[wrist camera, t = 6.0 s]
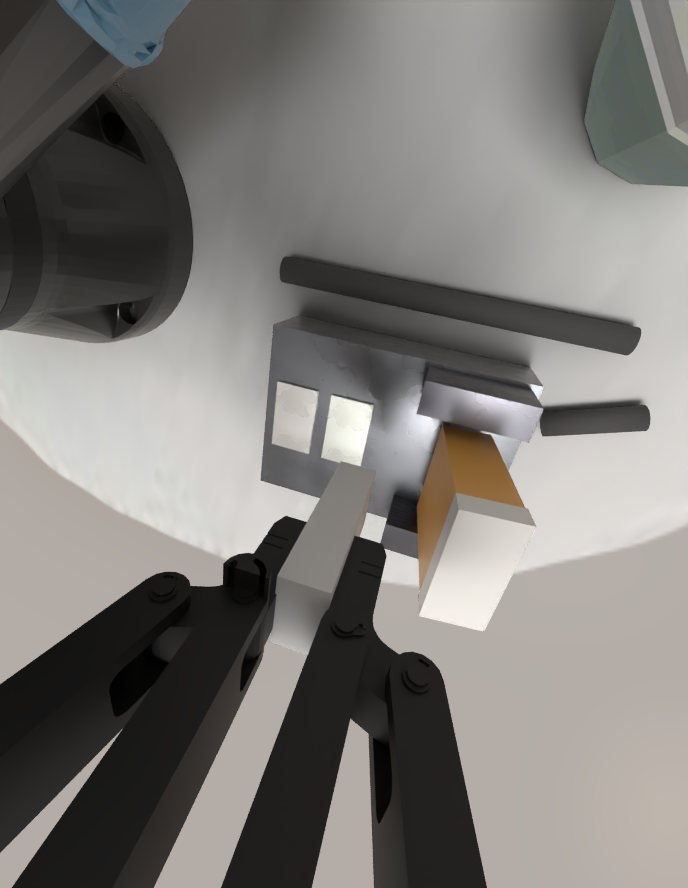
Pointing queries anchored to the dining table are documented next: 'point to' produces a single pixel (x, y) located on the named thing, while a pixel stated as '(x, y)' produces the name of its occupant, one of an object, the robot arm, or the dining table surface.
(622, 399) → the dining table surface
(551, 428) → the dark grey peg
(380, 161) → the dining table surface
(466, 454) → the lever
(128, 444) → the dining table surface
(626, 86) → the disposable coffee cup
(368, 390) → the labelled grey housing
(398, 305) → the dark grey rod
